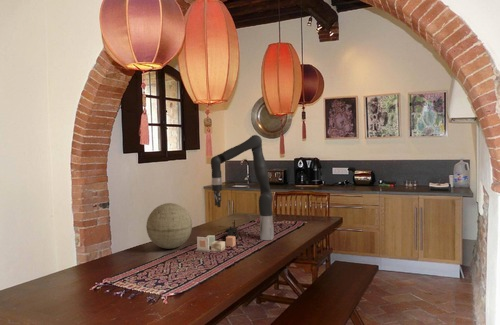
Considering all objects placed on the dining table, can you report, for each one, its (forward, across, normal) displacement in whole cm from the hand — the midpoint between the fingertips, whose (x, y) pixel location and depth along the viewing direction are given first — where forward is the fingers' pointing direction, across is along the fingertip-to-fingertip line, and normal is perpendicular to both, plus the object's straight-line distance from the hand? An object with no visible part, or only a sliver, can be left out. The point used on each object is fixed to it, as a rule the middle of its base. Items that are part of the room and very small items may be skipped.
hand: (217, 206), depth 292 cm
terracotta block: (+24, -20, -4) cm, 32 cm away
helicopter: (+24, +5, -11) cm, 27 cm away
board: (+24, -28, +17) cm, 40 cm away
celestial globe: (+24, -12, +36) cm, 45 cm away
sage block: (+24, -14, +9) cm, 29 cm away
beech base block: (+24, -28, +7) cm, 37 cm away
